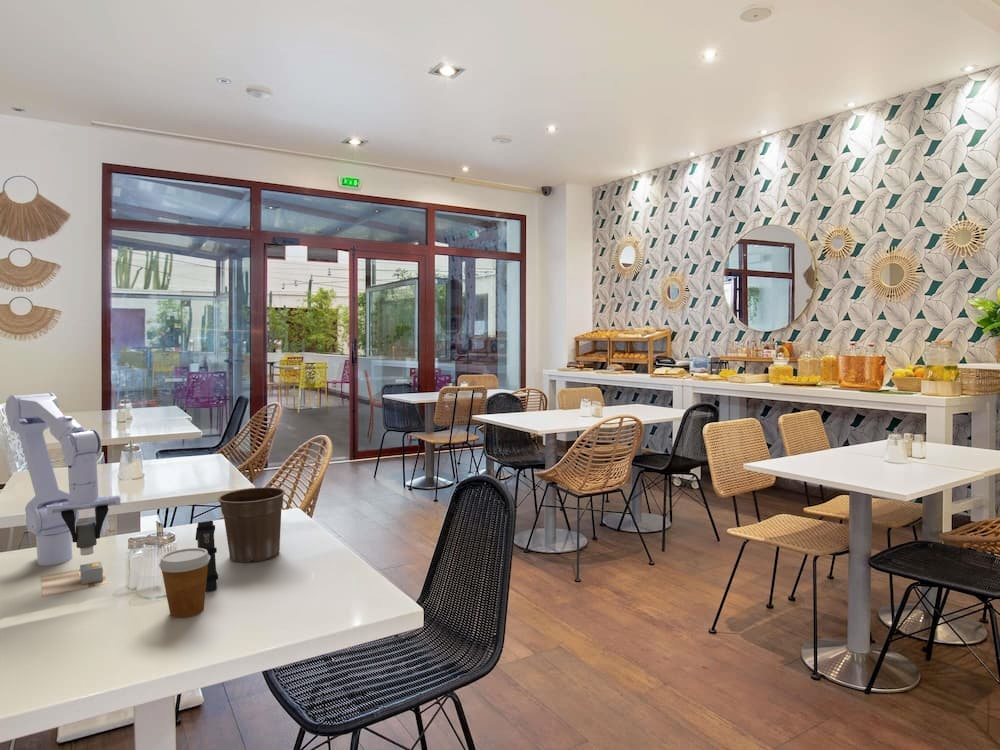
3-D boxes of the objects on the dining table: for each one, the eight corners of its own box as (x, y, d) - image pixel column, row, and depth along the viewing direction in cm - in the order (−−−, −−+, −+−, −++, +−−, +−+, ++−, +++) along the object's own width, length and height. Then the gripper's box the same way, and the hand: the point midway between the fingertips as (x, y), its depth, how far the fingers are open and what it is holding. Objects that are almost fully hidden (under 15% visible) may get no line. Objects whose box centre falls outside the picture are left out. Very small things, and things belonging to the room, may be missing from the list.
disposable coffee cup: (161, 625, 127) (158, 565, 126) (161, 608, 135) (158, 551, 135) (214, 615, 131) (211, 557, 131) (211, 599, 140) (208, 544, 139)
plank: (41, 582, 151) (41, 575, 151) (101, 571, 158) (101, 564, 158) (42, 603, 139) (42, 595, 139) (107, 589, 146) (107, 582, 146)
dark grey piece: (76, 553, 154) (75, 524, 153) (96, 549, 156) (94, 521, 156) (77, 557, 150) (75, 527, 150) (97, 554, 153) (96, 524, 152)
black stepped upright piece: (200, 591, 140) (196, 522, 145) (198, 598, 151) (195, 533, 156) (219, 587, 142) (214, 519, 147) (216, 594, 153) (212, 531, 158)
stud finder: (80, 578, 149) (79, 564, 149) (101, 574, 151) (100, 560, 151) (82, 584, 145) (81, 570, 145) (102, 580, 147) (102, 566, 147)
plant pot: (205, 561, 164) (203, 498, 163) (252, 542, 179) (250, 485, 178) (255, 569, 158) (253, 504, 157) (300, 549, 173) (298, 489, 172)
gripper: (46, 490, 145) (49, 549, 146) (120, 481, 153) (123, 537, 154) (45, 484, 151) (48, 542, 151) (117, 476, 159) (120, 530, 160)
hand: (86, 539), depth 153 cm, fingers closed on dark grey piece, 4 cm apart
